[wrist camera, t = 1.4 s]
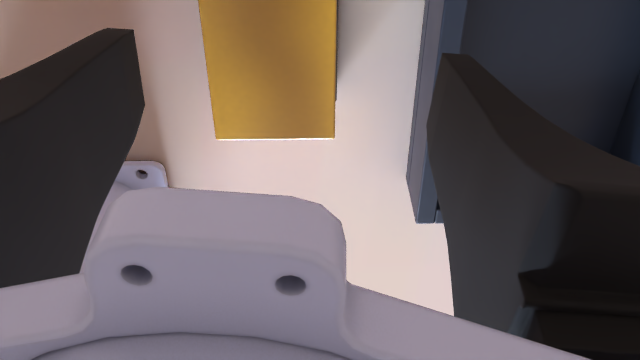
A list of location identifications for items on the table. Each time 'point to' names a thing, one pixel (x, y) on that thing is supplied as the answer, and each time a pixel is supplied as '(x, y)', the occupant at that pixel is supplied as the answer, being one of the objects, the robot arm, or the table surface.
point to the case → (536, 71)
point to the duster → (271, 67)
